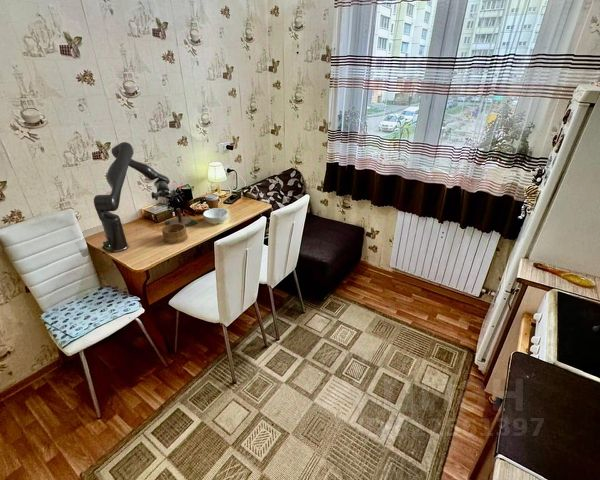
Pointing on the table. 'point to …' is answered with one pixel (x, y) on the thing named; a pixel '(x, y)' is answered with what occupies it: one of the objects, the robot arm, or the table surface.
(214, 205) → the disposable coffee cup
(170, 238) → the basket
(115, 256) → the table surface
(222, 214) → the cereal bowl
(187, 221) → the basket lid
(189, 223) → the mat
